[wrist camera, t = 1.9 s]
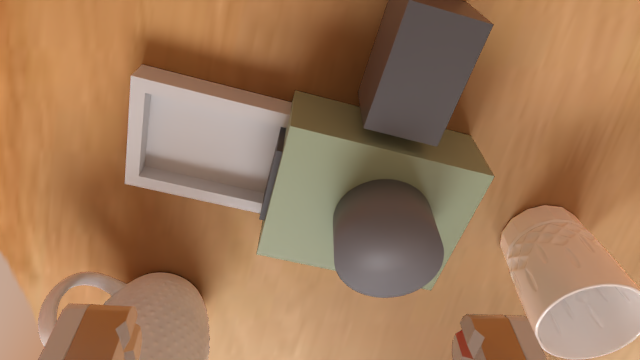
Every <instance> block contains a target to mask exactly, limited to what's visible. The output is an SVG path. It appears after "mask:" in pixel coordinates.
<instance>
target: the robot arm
mask: <svg viewBox="0 0 640 360" xmlns="http://www.w3.org/2000/svg"><path fill="white" fill-rule="evenodd" d="M137 317H138V313H137V310H136V306H115V305H94V304H68V305H67V306H66V307H65V308H64V309H63V310H62V312H61V314H60V316H59V318H58V320H57V322H56V324H55V326H54V328H53V330H52V332H51V335H50V337H49V339H48V341H47V343H46V345H45V347H44V349H43V351H42V353H41V355H40V357H39V359H38V360H139V357H140V353H141V346H142V331H141V327H140V326H139V325H138V324H136V320H137ZM460 324H461V328H462V330H461V331H459V332H458V333H456V334H455V336H454V339H453V342H452V357H453V360H547V358H546V356H545V354H544V352H543V350H542V348H541V346H540V344H539V341H538V339H537V337H536V335H535V333H534V331H533V329H532V327H531V325H530V323H529V321H528V319H527V318H526V317H525V316H511V315H504V316H503V315H477V314H466V315H465V316H463V318H462V320H461V322H460Z"/></svg>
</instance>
